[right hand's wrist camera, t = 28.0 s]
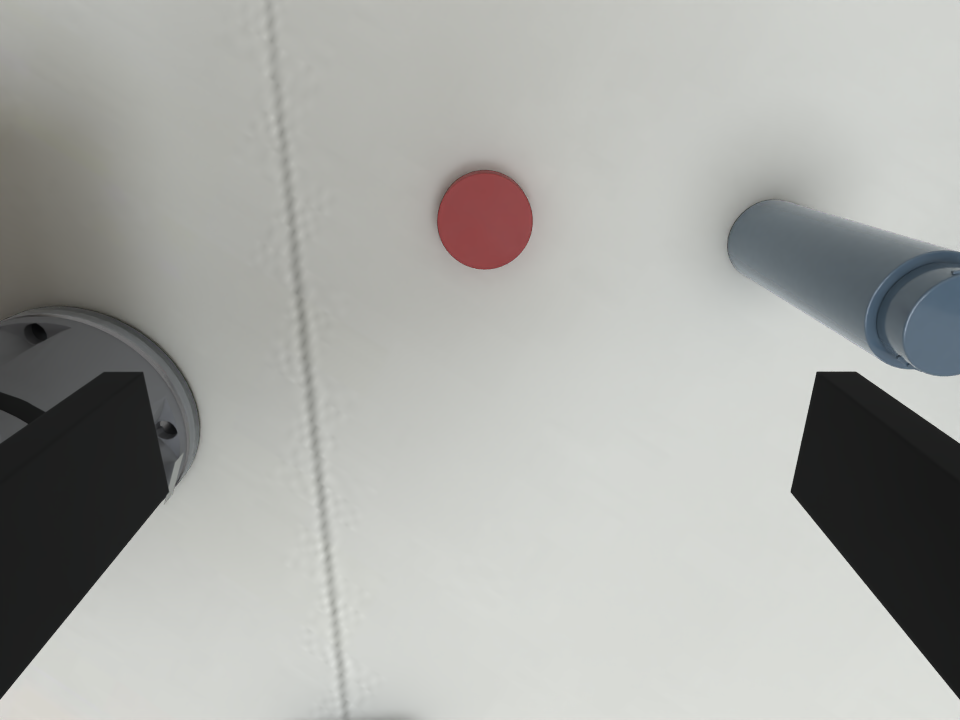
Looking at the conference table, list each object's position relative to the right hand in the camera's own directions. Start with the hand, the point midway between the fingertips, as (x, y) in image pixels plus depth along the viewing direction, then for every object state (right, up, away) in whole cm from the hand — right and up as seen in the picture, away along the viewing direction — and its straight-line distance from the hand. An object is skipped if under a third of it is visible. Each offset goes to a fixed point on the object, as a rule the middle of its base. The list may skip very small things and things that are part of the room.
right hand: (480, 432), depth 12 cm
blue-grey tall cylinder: (+18, +9, +26) cm, 33 cm away
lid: (0, +9, +24) cm, 26 cm away
